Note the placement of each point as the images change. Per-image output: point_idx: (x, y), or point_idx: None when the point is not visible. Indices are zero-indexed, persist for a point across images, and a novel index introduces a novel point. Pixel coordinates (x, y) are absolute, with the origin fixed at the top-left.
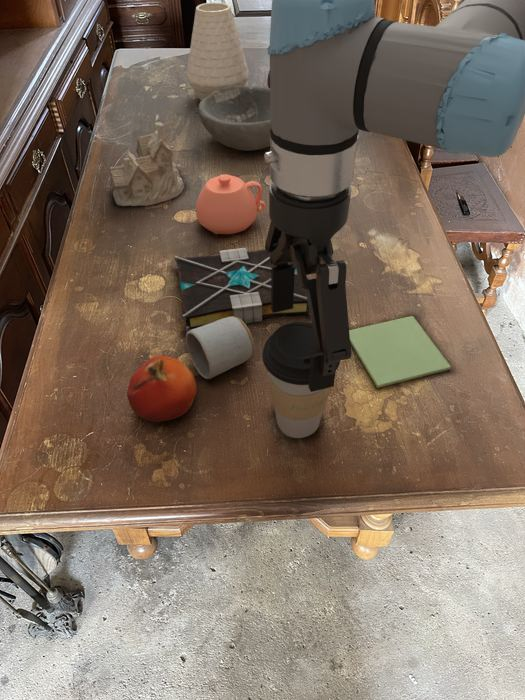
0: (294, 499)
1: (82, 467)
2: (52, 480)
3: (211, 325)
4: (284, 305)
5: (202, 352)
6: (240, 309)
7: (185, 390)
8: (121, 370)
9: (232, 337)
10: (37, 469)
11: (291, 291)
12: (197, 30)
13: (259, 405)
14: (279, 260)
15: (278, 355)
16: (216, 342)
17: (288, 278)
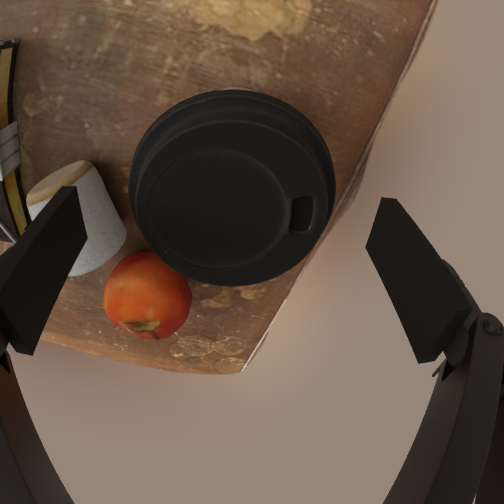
0: (352, 177)
1: (213, 340)
2: (219, 355)
3: None
4: (74, 220)
5: None
6: (3, 166)
7: (169, 292)
8: (92, 299)
9: None
10: (204, 361)
11: (48, 231)
12: None
13: None
14: (19, 397)
15: (248, 276)
16: (86, 248)
17: (25, 282)
